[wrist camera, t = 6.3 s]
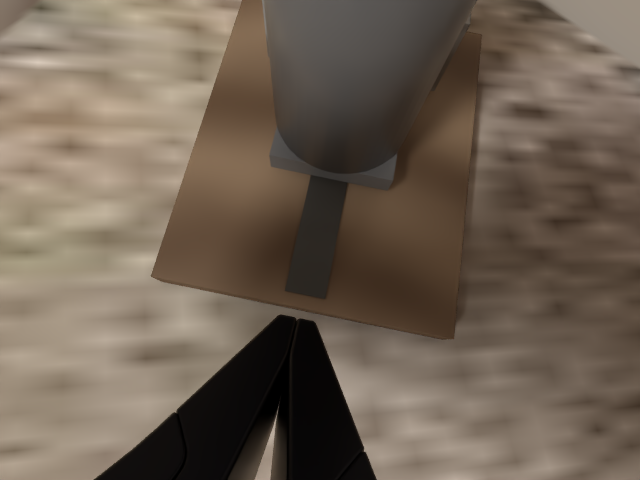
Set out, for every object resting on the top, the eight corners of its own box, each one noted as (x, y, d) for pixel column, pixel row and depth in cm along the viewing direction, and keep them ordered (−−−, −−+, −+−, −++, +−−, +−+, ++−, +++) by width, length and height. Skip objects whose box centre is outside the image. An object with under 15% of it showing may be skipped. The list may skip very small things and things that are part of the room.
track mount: (442, 339, 16) (506, 336, 11) (161, 281, 16) (100, 252, 11) (470, 52, 20) (526, -42, 15) (249, 7, 20) (234, -102, 15)
